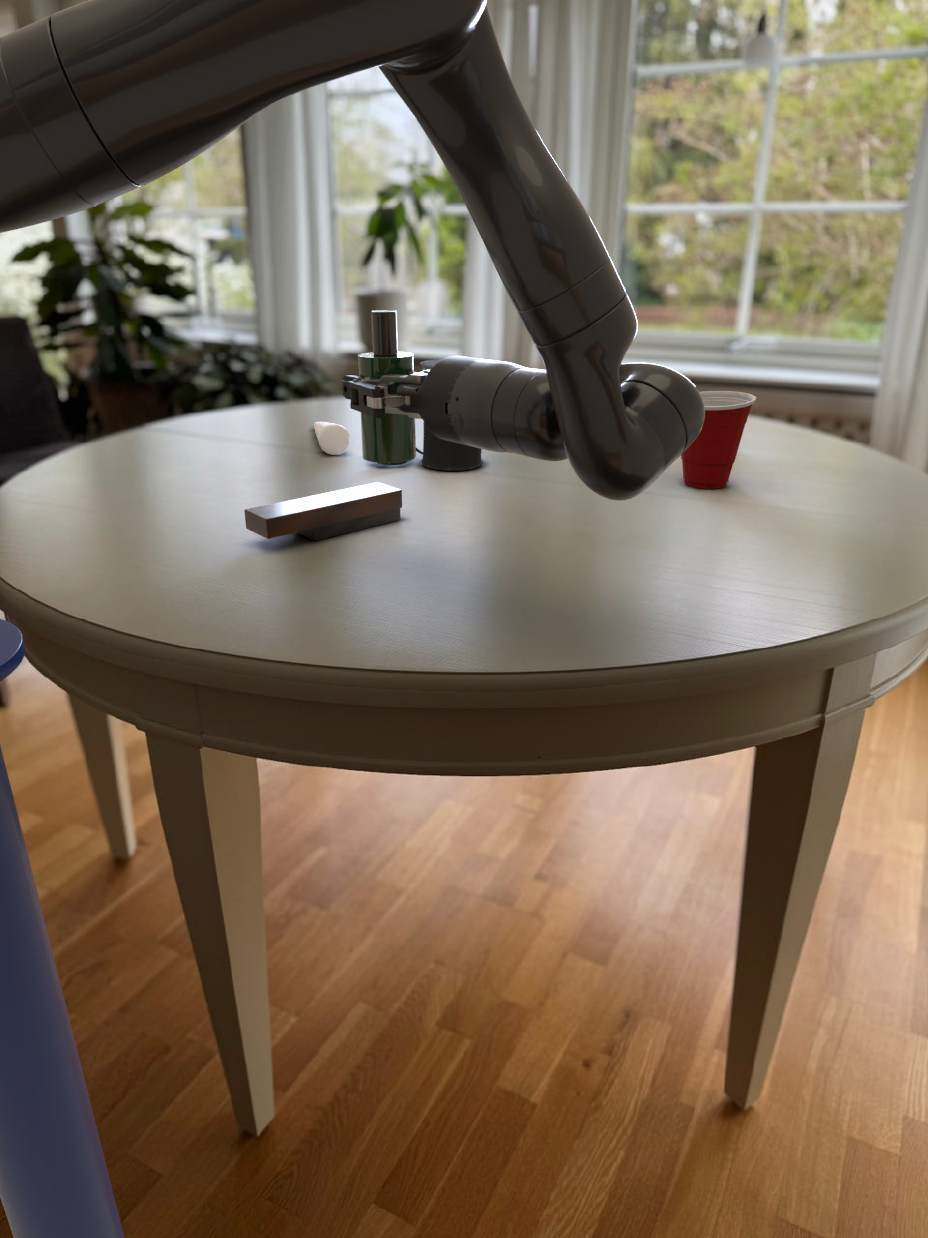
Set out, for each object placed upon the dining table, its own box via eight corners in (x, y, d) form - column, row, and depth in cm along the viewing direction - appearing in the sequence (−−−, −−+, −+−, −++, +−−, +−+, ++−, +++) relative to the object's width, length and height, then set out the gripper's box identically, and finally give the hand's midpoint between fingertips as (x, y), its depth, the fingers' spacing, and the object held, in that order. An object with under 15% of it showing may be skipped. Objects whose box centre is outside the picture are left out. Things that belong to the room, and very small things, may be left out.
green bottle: (383, 465, 83) (377, 313, 78) (352, 456, 87) (344, 310, 82) (426, 457, 87) (423, 310, 81) (394, 448, 90) (389, 308, 85)
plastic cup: (651, 475, 122) (659, 390, 117) (720, 472, 124) (731, 387, 119) (684, 496, 112) (694, 403, 108) (759, 492, 115) (772, 400, 110)
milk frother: (495, 467, 127) (497, 363, 121) (400, 481, 119) (397, 371, 113) (446, 448, 138) (445, 353, 132) (357, 460, 130) (352, 359, 124)
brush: (269, 553, 91) (266, 519, 90) (247, 542, 95) (243, 509, 93) (402, 520, 102) (402, 489, 101) (379, 511, 105) (377, 481, 104)
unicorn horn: (336, 425, 154) (335, 398, 152) (351, 455, 133) (349, 424, 131) (310, 426, 153) (308, 399, 151) (320, 457, 132) (318, 426, 130)
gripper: (543, 352, 77) (425, 339, 89) (419, 366, 68) (306, 349, 80) (541, 436, 80) (427, 412, 92) (421, 459, 71) (312, 430, 83)
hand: (371, 383), depth 86 cm, fingers closed on green bottle, 5 cm apart
